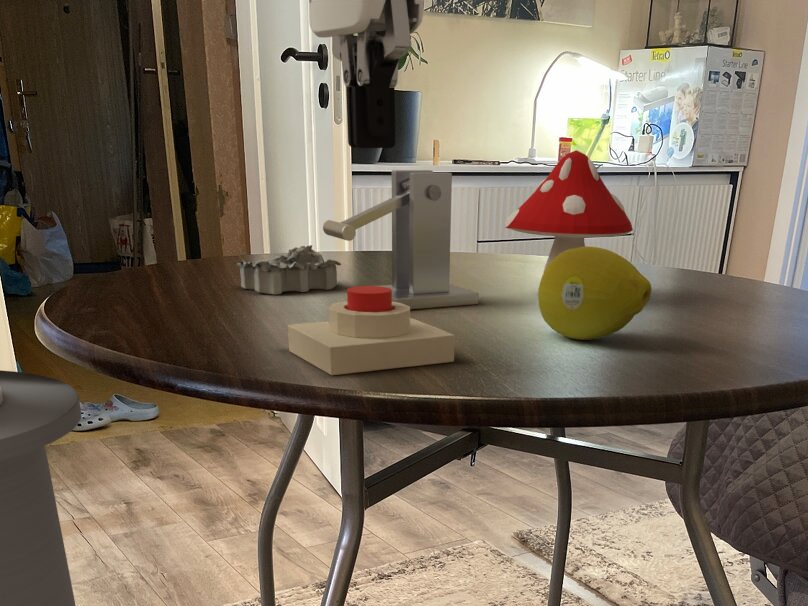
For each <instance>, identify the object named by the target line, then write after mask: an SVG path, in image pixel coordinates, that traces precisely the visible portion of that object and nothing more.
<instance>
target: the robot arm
mask: <svg viewBox="0 0 808 606" xmlns="http://www.w3.org/2000/svg"><path fill="white" fill-rule="evenodd" d="M424 5H425V0H308V21H309V22H308V23H309V27H310V30H311V31H312V33H313V34H314V35H315V36H316V37H317V38H325V39H326V38H331V39H332V41H331V53H332V56H333V57H334V58H335V59H337V60H339V62H341V70H342V71H341V72H342V80H343V84H344V86H345V95H346V123H347V124H346V127H347V143H348V145H349V146H350V148H356V149H357V148H358V149H393V148H394V147H395V146H396V93H395V92H396V91H395V87H396V86H397V84H398V78H399V60H400V59H401V58H402V57H404V56H405V55H407V54H408V53H409V52H410V50H411V47H412V37H411V34H413V33H414V32H416V31H417V30H418V28H419V27H420V26H421V23H423V17H424V7H425V6H424ZM355 34H357V35H355ZM2 402H3V395H2V390H1V387H0V405H1V404H2Z"/></svg>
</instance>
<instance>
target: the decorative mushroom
mask: <svg viewBox="0 0 808 606" xmlns="http://www.w3.org/2000/svg"><path fill="white" fill-rule="evenodd" d="M625 211H626V210H625V207H624V205H623V203H622V202H621V201H620V199H619V198H618V197H617V196H616V195H615V194H613V193H611V192H610V190H609V188H608V187H607V186H606V185H605V182H604V181H603V179H602V178H601V175H600V174H599V171H598V169H597V167H596V164H595V163H594V162H593V161H592V160H591V158H589V157H588V155H587V154H585V153H583V152H581V151H579V150H577V149H576V150H573V151H571V152H568V153H566V154H565V155H564V156H563V157H561V158H560V159H559V161H558V162H557V164H556V165H555V166H554V167H553V168H552V170H551V171H550V172H549V174H548V176H546V178H543V180H541V181H540V182H539V184H538V185H537V188H536V189H535V191H534V192H533V193H532V194H531V195H530V196H529V197H528V198H527V199H526V201H524V202H523V203H522V204H521V205H520V206H518V208H517V209H516V210H514V211H513V212H511V214H510V215H509V216H508V218H507V219H506V221H505V225H504V228H505V229H508V230H509V229H510V230H512V231H515V232H518V233H523V234H530V235H537V236H545V237H554V239H553V241H552V242H553V243H552V246H551V249H550V252H549V254H548V257H547V260H546V263H545V266H544V269H543V273H544V271H545V269H546V268H547V266H548V265H549V263H550V262H551V261H552V260H553V259H554V258H555V257H557V256H558V255H559V254H560V253H562V252H564V251H566V250H569V249H573V248H578V247H586V245H585V238H587V239H589V238H591V239H593V238H614V237H624V236H626V235H628V234H630V233H631V232H632V231H634V228H633V225H632V222H631V219H629V217H628V216H627V214H626V212H625ZM543 273H542V274H543Z"/></svg>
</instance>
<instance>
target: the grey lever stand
mask: <svg viewBox="0 0 808 606" xmlns="http://www.w3.org/2000/svg"><path fill="white" fill-rule="evenodd" d="M408 180H410V203H409V205H405V206H403V207H401V208H399V209H397V210H395V211H393V212H391V284H383V285H379V286H380V287H386V288H390V289H391V290H392V302H399V303H402V304H404V305H407V306H409V307H410V311H412V310H423V309H433V308H434V309H437V308H447V307H459V306H460V307H461V306H471V305H472V306H473V305H479V298H480V297H479V292H477V291H474V290H471V289H467V288H465V287H461V286H458V285H455V284H451V283H450V276H451V275H450V274H451V270H450V269H451V235H452V234H451V231H452V230H451V229H452V228H451V226H452V192H453V191H452V190H453V189H452V187H453V173H452V172H446V171H445V172H434V171H433V170H430V169H392V170H391V198H393V197H395V196H397V195H399V194H401V193H403V192H404V189H403V186H402V183H404V182H406V181H408Z"/></svg>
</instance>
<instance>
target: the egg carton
mask: <svg viewBox="0 0 808 606" xmlns="http://www.w3.org/2000/svg"><path fill="white" fill-rule="evenodd" d="M233 263H234V265H236V267H238V268H239V273H240V287H241V288H243V289H245V290H254V291H255V292H257V293H260V294H269V295H281V294H283V292H299V293H306V292H309V291H310V290H314V289H315V290H316V289H317V290H318V289H319V290H327V291H328V290H332V289H334V288H336V287H337V285H338V272H337V266H342V263H341V262H339V261H337V260H334V259H331V258H329V259H326V260H324V257H323V255H322V254H321V252H319V251H315V250H314V249H313V245H312V244H310V245H306V246H305V245H301V246H299V247H293V248H291V249H288V252H287V255H283V254H282V255H281V254H277V255H276V256H275V257H274V258H269V259H267V260H263V259H259V260H257V261H252V260H251V261H245V260H244V259H242V260H241V261H240V262H237V261H234V262H233Z"/></svg>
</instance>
